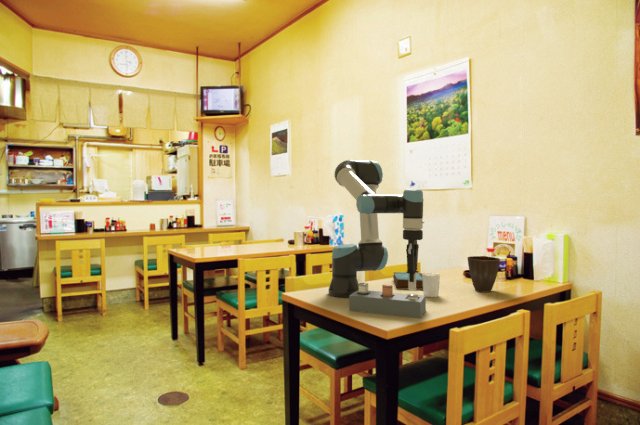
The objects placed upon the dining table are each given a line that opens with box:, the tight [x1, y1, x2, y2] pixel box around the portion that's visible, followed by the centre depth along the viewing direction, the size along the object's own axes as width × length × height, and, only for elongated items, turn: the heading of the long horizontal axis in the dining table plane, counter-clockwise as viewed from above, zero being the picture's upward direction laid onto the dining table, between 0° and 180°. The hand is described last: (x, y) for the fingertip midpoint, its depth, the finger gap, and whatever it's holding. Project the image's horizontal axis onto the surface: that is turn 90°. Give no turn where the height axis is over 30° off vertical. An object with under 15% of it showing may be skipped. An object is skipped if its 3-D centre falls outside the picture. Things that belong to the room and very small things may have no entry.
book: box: [392, 271, 424, 290], centre depth 213 cm, size 23×18×5 cm
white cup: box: [422, 272, 441, 298], centre depth 186 cm, size 8×8×10 cm
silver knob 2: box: [406, 293, 419, 300], centre depth 156 cm, size 4×4×6 cm
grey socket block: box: [348, 290, 427, 319], centre depth 160 cm, size 28×12×6 cm, turn 66°
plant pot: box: [467, 255, 501, 293], centre depth 197 cm, size 15×15×16 cm
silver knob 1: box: [358, 282, 369, 295], centre depth 164 cm, size 4×4×6 cm
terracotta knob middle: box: [381, 284, 394, 297], centre depth 160 cm, size 4×4×6 cm
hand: (412, 289), depth 156 cm, fingers closed
